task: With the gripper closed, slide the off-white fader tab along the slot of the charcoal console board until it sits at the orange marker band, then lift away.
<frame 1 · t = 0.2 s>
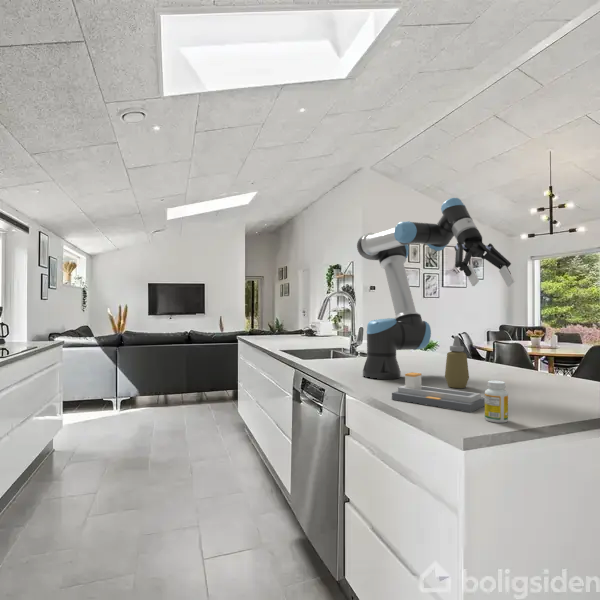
hand: (493, 283, 138), 36 cm above the table, tool tilted 35°, fingers open, 13 cm apart
console board: (437, 402, 131), on the table
supplement bottle: (496, 421, 110), on the table
fader tab: (413, 382, 136), point 5 cm above the table, slide at 0.0 cm
squeeze bottle: (456, 387, 156), on the table
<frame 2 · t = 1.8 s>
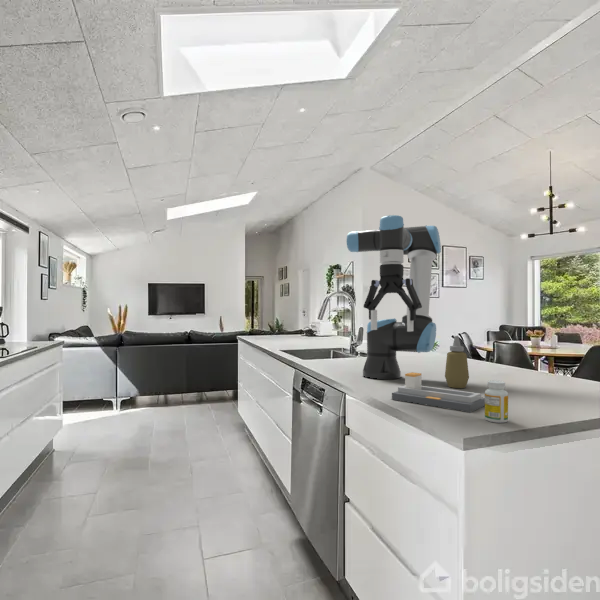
hand: (391, 330, 142), 21 cm above the table, tool pointing down, fingers open, 12 cm apart
nothing on the table moved.
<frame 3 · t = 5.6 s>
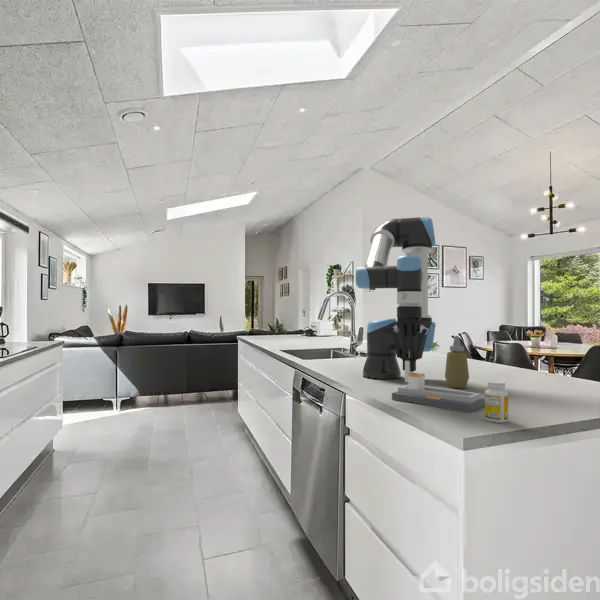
hand: (409, 381, 137), 5 cm above the table, tool pointing down, fingers closed
fader tab: (416, 382, 136), point 5 cm above the table, slide at 1.1 cm, touching gripper
everything else where it was.
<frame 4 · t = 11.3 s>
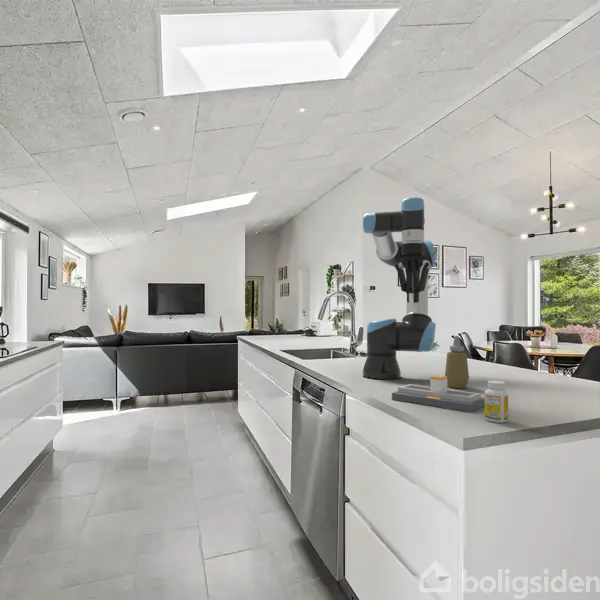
hand: (412, 312, 151), 26 cm above the table, tool pointing down, fingers closed
fader tab: (438, 385, 131), point 5 cm above the table, slide at 8.3 cm
everything else where it was.
at the end: fader tab slide at 8.3 cm; fader tab touching nothing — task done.
